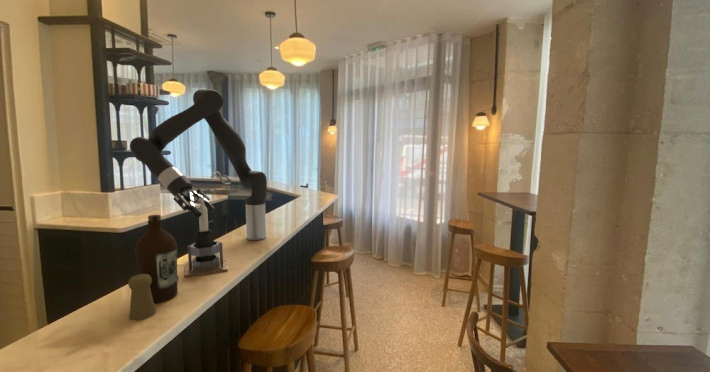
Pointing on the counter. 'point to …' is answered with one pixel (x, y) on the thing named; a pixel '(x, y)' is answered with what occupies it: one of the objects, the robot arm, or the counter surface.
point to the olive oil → (158, 260)
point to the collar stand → (205, 266)
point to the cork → (141, 297)
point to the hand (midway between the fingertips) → (207, 213)
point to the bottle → (204, 233)
